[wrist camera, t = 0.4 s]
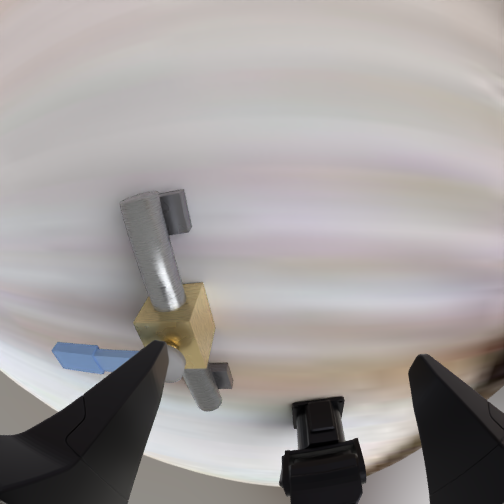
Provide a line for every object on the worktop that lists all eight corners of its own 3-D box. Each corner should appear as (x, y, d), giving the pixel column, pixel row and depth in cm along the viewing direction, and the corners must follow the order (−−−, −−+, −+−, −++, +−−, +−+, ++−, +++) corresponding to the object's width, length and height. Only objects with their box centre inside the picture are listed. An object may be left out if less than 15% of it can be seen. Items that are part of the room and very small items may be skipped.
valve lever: (178, 343, 18) (174, 355, 17) (190, 371, 20) (187, 383, 18) (55, 338, 19) (49, 347, 18) (70, 362, 21) (65, 371, 20)
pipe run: (233, 383, 29) (228, 428, 24) (191, 383, 30) (181, 426, 24) (182, 182, 20) (152, 206, 14) (125, 194, 20) (83, 220, 15)
